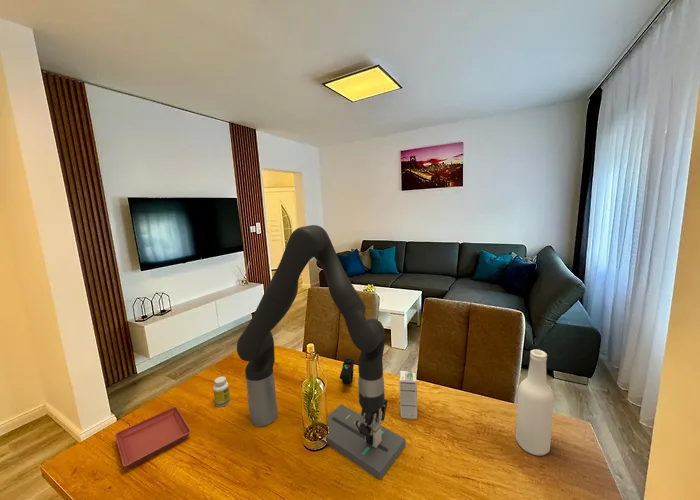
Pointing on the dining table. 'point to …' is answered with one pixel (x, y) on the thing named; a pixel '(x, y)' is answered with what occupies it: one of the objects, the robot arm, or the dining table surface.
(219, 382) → the supplement bottle
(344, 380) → the controller
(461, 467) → the dining table surface
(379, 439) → the fader tab
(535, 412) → the alcohol
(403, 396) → the syrup box
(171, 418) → the plant saucer
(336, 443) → the console
